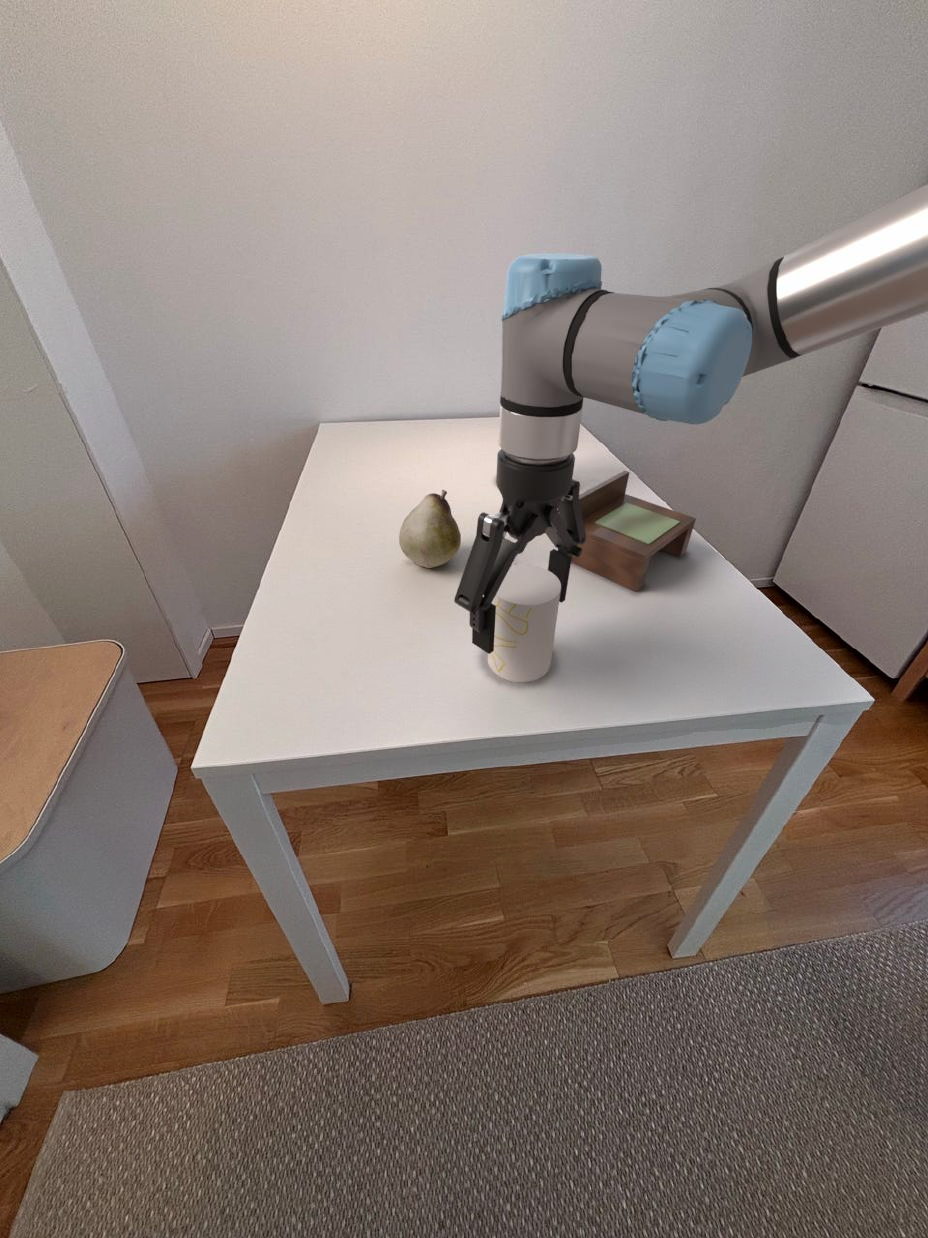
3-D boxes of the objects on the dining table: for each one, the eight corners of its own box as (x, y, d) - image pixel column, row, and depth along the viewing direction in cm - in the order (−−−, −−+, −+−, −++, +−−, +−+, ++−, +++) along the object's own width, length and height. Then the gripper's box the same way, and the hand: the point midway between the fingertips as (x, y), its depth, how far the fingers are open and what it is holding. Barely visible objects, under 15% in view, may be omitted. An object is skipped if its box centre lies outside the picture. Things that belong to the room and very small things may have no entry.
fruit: (472, 560, 86) (472, 493, 78) (432, 584, 80) (428, 514, 73) (428, 539, 91) (425, 475, 84) (388, 561, 86) (381, 493, 78)
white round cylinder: (476, 651, 68) (477, 575, 61) (527, 632, 71) (534, 558, 64) (509, 690, 63) (514, 613, 55) (563, 668, 66) (575, 592, 58)
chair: (685, 552, 87) (703, 495, 81) (636, 592, 79) (651, 531, 72) (613, 525, 95) (624, 470, 88) (561, 558, 86) (569, 499, 80)
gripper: (579, 412, 59) (557, 568, 72) (412, 476, 45) (424, 655, 58) (638, 428, 55) (603, 590, 68) (474, 504, 41) (471, 689, 54)
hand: (520, 620), depth 63 cm, fingers open, 13 cm apart
